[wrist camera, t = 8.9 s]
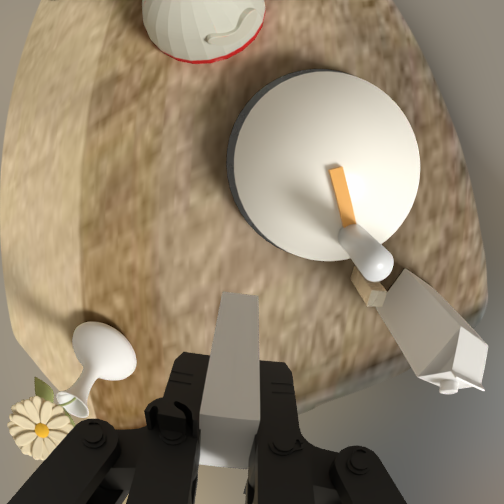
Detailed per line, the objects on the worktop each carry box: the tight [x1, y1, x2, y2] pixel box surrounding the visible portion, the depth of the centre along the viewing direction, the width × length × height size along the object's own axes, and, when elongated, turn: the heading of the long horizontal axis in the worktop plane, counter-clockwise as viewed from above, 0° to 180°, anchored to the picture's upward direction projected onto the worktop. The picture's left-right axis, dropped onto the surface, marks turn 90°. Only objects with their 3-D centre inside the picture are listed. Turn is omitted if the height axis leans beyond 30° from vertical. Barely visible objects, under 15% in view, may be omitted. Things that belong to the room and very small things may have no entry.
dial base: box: [227, 69, 387, 307], centre depth 32 cm, size 25×22×7 cm
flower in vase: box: [7, 322, 137, 460], centre depth 32 cm, size 13×11×25 cm
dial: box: [234, 71, 420, 282], centre depth 27 cm, size 20×20×11 cm
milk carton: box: [376, 268, 488, 394], centre depth 32 cm, size 7×7×19 cm
